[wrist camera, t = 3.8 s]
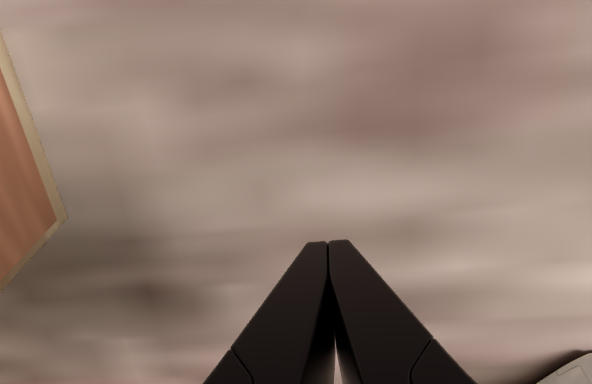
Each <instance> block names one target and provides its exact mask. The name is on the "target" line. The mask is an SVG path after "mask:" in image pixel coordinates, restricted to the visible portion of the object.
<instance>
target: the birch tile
mask: <svg viewBox="0 0 592 384" xmlns="http://www.w3.org/2000/svg"><path fill="white" fill-rule="evenodd" d="M67 218H68V217H67V214H66V211H65V209H64V206H63V203H62V200H61V198H60V195H59V192H58V189H57V186H56V184H55V181H54V178H53V175H52V172H51V170H50V167H49V164H48V161H47V158H46V156H45V153H44V150H43V147H42V145H41V142H40V139H39V136H38V133H37V131H36V128H35V125H34V122H33V119H32V117H31V114H30V111H29V108H28V106H27V103H26V100H25V97H24V94H23V92H22V89H21V86H20V83H19V80H18V78H17V75H16V72H15V69H14V66H13V64H12V61H11V58H10V55H9V53H8V50H7V47H6V44H5V41H4V39H3V36H2V33H1V30H0V292H1V291H2V290H3V289H4V288H5V287H6V286H7V285H8V284H9V282H10V281H11V280H12V279H13V278H14V277H15V276H16V275H17V274H18V272H19V271H20V270H21V269H22V268H23V267H24V266H25V265H26V264H27V262H28V261H29V260H30V259H31V258H32V257H33V256H34V255H35V254H36V253H37V251H38V250H39V249H40V248H41V247H42V246H43V245H44V244H45V243H46V241H47V240H48V239H49V238H50V237H51V236H52V235H53V234H54V233H55V231H56V230H57V229H58V228H59V227H60V226H61V225H62V224H63V223H64V222H65V220H66V219H67Z"/></svg>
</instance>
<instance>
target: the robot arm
mask: <svg viewBox="0 0 592 384" xmlns="http://www.w3.org/2000/svg"><path fill="white" fill-rule="evenodd" d="M335 340H336V350H337V356H338V362H339V367H340V372H341V377H342V382H343V384H477V383H476V382H475V381H474V380H473V379H472V378H471V377H470V376H469V375H468V374H467V373H466V372H465V371H464V370H463V369H462V368H461V367H460V366H459V365H458V363H457V362H456V361H455V360H454V359H453V358H452V357H451V356H450V355H449V354H448V353H447V352H446V350H445V349H444V348H443V347H442V346H441V345H440V343H439V342H438V341H437V340H436V339H433V336H432V335H431V333H430V332H429V331H428V330H427V329H426V328H425V327H424V325H423V324H422V323H421V322H420V321H419V320H418V319H417V317H416V316H415V315H414V314H413V313H412V312H411V311H410V309H409V308H408V307H407V306H406V305H405V304H404V303H403V301H402V300H401V299H400V298H399V297H398V296H397V295H396V294H395V292H394V291H393V290H392V289H391V288H390V287H389V286H388V284H387V283H386V282H385V281H384V280H383V279H382V278H381V276H380V275H379V274H378V273H377V272H376V271H375V270H374V268H373V267H372V266H371V265H370V264H369V263H368V262H367V260H366V259H365V258H364V257H363V256H362V255H361V254H360V252H359V251H358V250H357V249H356V248H355V247H354V246H353V244H352V243H351V242H350V241H349V240H346V239H345V240H332V241H329V243H327V242H325V241H319V242H308V243H307V244H306V245H305V246H304V248H303V249H302V250H301V252H300V253H299V254H298V256H297V257H296V259H295V260H294V261H293V263H292V264H291V265H290V267H289V268H288V269H287V271H286V272H285V274H284V275H283V276H282V278H281V279H280V280H279V282H278V283H277V284H276V286H275V287H274V289H273V290H272V291H271V293H270V294H269V295H268V297H267V298H266V300H265V301H264V302H263V304H262V305H261V306H260V308H259V309H258V310H257V312H256V313H255V315H254V316H253V317H252V319H251V320H250V321H249V323H248V324H247V326H246V327H245V328H244V330H243V331H242V332H241V334H240V335H239V336H238V338H237V339H236V341H235V342H234V343H233V345H232V346H231V350H228V351H227V353H226V354H225V355H224V357H223V358H222V359H221V361H220V362H219V363H218V365H217V366H216V367H215V369H214V370H213V371H212V372H211V374H210V375H209V376H208V378H207V379H206V380H205V381H204V383H203V384H334V370H335Z"/></svg>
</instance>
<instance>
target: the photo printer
mask: <svg viewBox="0 0 592 384" xmlns="http://www.w3.org/2000/svg"><path fill="white" fill-rule="evenodd" d="M536 384H592V353H589V354H586V355H584V356H582V357H580V358H578V359H576V360H573V361H572V362H570V363H568V364H566V365H565V366H563V367H561V368H559V369H558V370H557V371H555V372H554V373H552V374H550V375H549V376H547V377H546V378H544V379H543V380H541V381H540V382H538V383H536Z"/></svg>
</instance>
